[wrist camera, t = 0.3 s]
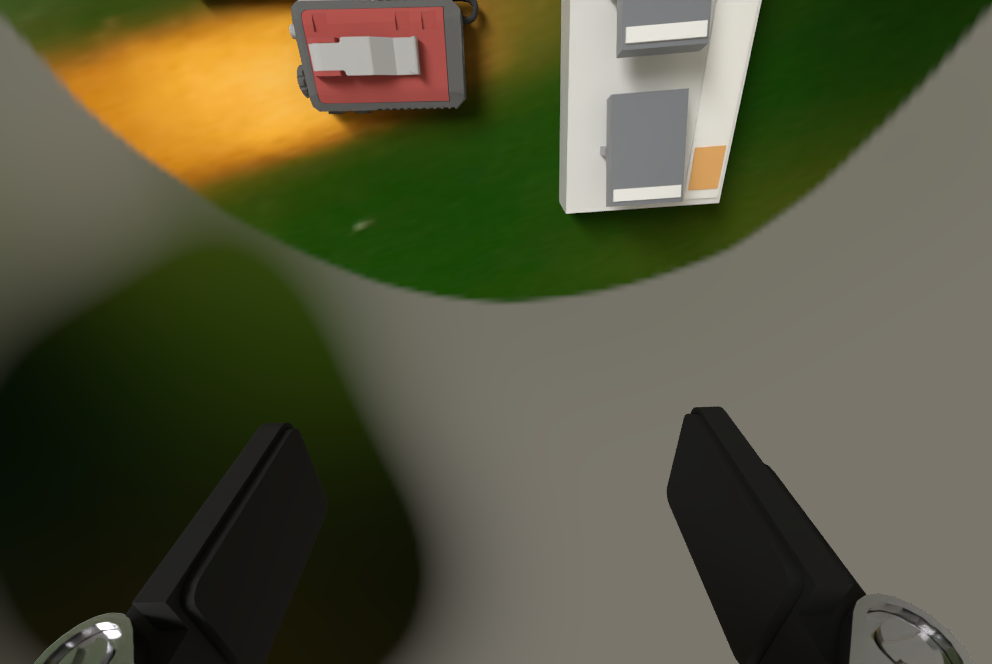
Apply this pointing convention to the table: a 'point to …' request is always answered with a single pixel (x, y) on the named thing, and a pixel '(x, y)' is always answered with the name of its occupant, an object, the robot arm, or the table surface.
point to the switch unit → (601, 74)
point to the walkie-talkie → (381, 53)
